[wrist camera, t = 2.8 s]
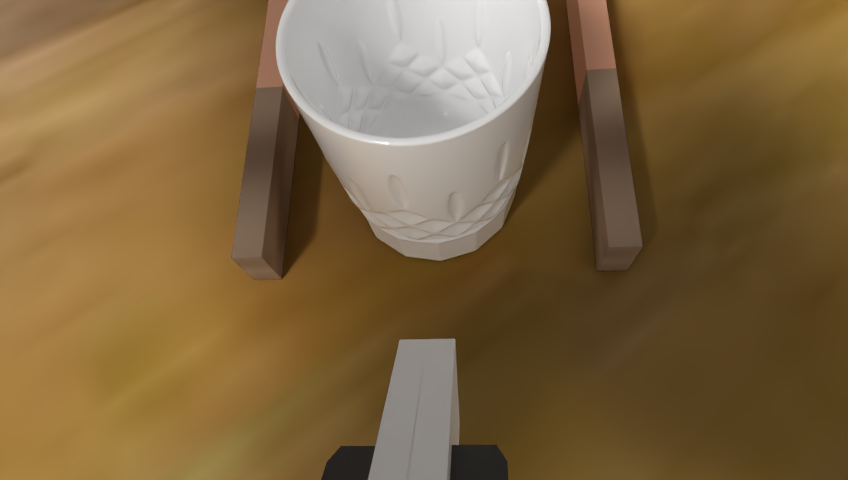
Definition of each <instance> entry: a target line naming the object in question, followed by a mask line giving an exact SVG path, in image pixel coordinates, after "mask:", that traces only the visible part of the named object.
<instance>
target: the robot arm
mask: <svg viewBox="0 0 848 480" xmlns="http://www.w3.org/2000/svg"><path fill="white" fill-rule="evenodd" d="M459 427H460V420H459V401H458V382H457V363H456V345H455V339H404V340H399V345H398V349H397V354H396V358H395V362H394V367H393V371H392V376H391V380H390V384H389V389H388V393H387V398H386V402H385V407H384V411H383V415H382V420H381V424H380V429H379V433H378V437H377V442H376V446H341V447H340V448H339V449H338V450H337V451H336V452H335V454H334V455H333V456H332V457H331V458H330V459H329V460H328V462H327V463H326V467H325V470H324V473H323V476H322V479H321V480H508V468H507V461H506V459H505V458H504V456H503V454H502V453H501V451H500V450H499V448H498V447H497V445H459Z"/></svg>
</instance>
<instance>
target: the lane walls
mask: <svg viewBox="0 0 848 480" xmlns="http://www.w3.org/2000/svg"><path fill="white" fill-rule="evenodd" d="M578 109H579V118H580V126H581V135H582V144H583V153H584V161H585V170H586V179H587V188H588V196H589V205H590V214H591V223H592V231H593V240H594V249H595V257H596V266H597V271H620V270H628V269H629V267H630V266H631V264H632V263H633V261H634V259H635V258H636V256H637V255H638V253H639V252H640V250H641V248H642V247H643V244H642V237H641V231H640V224H639V217H638V211H637V204H636V197H635V191H634V184H633V177H632V171H631V164H630V157H629V150H628V144H627V137H626V130H625V124H624V117H623V110H622V104H621V97H620V90H619V84H618V77H617V70H616V68H612V69H594V70H587V71H586V75H585V79H584V83H583V88H582V92H581V96H580V100H579V104H578ZM298 124H299V119H298V117H297V115H296V113H295V111H294V109H293V107H292V105H291V103H290V101H289V99H288V97H287V95H286V92H285V90H284V88H283V87H266V88H256V91H255V98H254V104H253V111H252V118H251V125H250V132H249V139H248V146H247V152H246V159H245V166H244V173H243V180H242V187H241V194H240V201H239V207H238V214H237V221H236V228H235V235H234V242H233V249H232V256H231V258H232V259H233V260H234V261H235V262H236V263H237V264H238V265H239V266H240V267H241V268H242V269H243V270H244V271H245V272H246V273H248V274H249V275H250V276H251V277H252V278H253V279H254V280H264V279H282V273H283V263H284V254H285V245H286V236H287V226H288V217H289V208H290V198H291V189H292V180H293V171H294V161H295V152H296V143H297V134H298Z"/></svg>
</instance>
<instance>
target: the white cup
mask: <svg viewBox="0 0 848 480" xmlns="http://www.w3.org/2000/svg"><path fill="white" fill-rule="evenodd" d="M550 35H551V20H550V13H549V8H548V4H547V1H546V0H289V1H288V3H287V4H286V6H285V8H284V11H283V13H282V16H281V18H280V22H279V25H278V29H277V35H276V59H277V65H278V69H279V73H280V76H281V78H282V81H283V83H284V85H285V87H286V89H287V91H288V92H289V94H290V96H291V98H292V99H293V101H294V103H295V105H296V106H297V108H298V110H299V112H300V113H301V115H302V117H303V119H304V121H305V122H306V124H307V126H308V127H309V129H310V131H311V132H312V134H313V136H314V138H315V139H316V141H317V143H318V145H319V146H320V148H321V150H322V152H323V154H324V156H325V158H326V160H327V162H328V164H329V165H330V167H331V168H332V170H333V171H334V173H335V174H336V176H337V177H338V179H339V181H340V183H341V184H342V186H343V188H344V189H345V191H346V192H347V194H348V195H349V197H350V199H351V200H352V202H353V203H354V204H355V205H356V206H357V207H358V208H359V209H360V210H361V212H362V213H363V215H364V216H365V218H366V220H367V222H368V223H369V225H370V227H371V229H372V231H373V232H374V234H375V236H376V237H377V238H378V239H379V240H381V241H382V242H384V243H386V244H387V245H389V246H390V247H392V248H393V249H395V250H396V251H398V252H399V253H401V254H403V255H404V256H407V257H414V258H422V259H429V260H437V261H443V260H446V259H449V258H453V257H456V256H460V255H463V254H466V253H470V252H473V251H476V250H477V249H478V248H479V247H481V246H482V245H483V244H484V243H485V242H486V241H487V240H489V239H490V238H491V237H492V236H493V235H494V234H495V233H497V232H498V231H499V230H500V229H501V228H502V227H503V224H504V222H505V219H506V217H507V215H508V212H509V210H510V207H511V205H512V202H513V200H514V197H515V193H516V187H517V185H518V182H519V179H520V176H521V172H522V168H523V164H524V160H525V156H526V153H527V149H528V145H529V140H530V136H531V131H532V126H533V121H534V116H535V111H536V106H537V101H538V96H539V91H540V86H541V81H542V76H543V71H544V67H545V62H546V57H547V52H548V48H549V43H550Z"/></svg>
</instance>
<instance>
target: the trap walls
mask: <svg viewBox="0 0 848 480" xmlns="http://www.w3.org/2000/svg"><path fill="white" fill-rule="evenodd" d="M288 1H289V0H269V1H268V8H267V15H266V22H265V29H264V36H263V43H262V49H261V56H260V63H259V70H258V77H257V84H256V88H266V87H283V88H284V90H285V92H286V95H287V97H288V99H289V101H290V103H291V105H292V107H293V109H294V111H295V113H296V115H297V117H298V119H299V115H300V112H299V110H298V108H297V106H296V105H295V103H294V101H293V99H292V98H291V96H290V94H289V92H288V91H287V89H286V87H285V85H284V83H283V81H282V78H281V76H280V73H279V69H278V65H277V59H276V35H277V29H278V25H279V22H280V18H281V16H282V13H283V11H284V8H285V6H286V4H287V3H288ZM566 4H567V13H568V22H569V30H570V39H571V48H572V57H573V65H574V74H575V83H576V92H577V100H578V104H579V100H580V96H581V92H582V88H583V83H584V79H585V75H586V71H587V70H594V69H612V68H616V64H615V57H614V50H613V43H612V37H611V30H610V23H609V17H608V10H607V3H606V0H566Z"/></svg>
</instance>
